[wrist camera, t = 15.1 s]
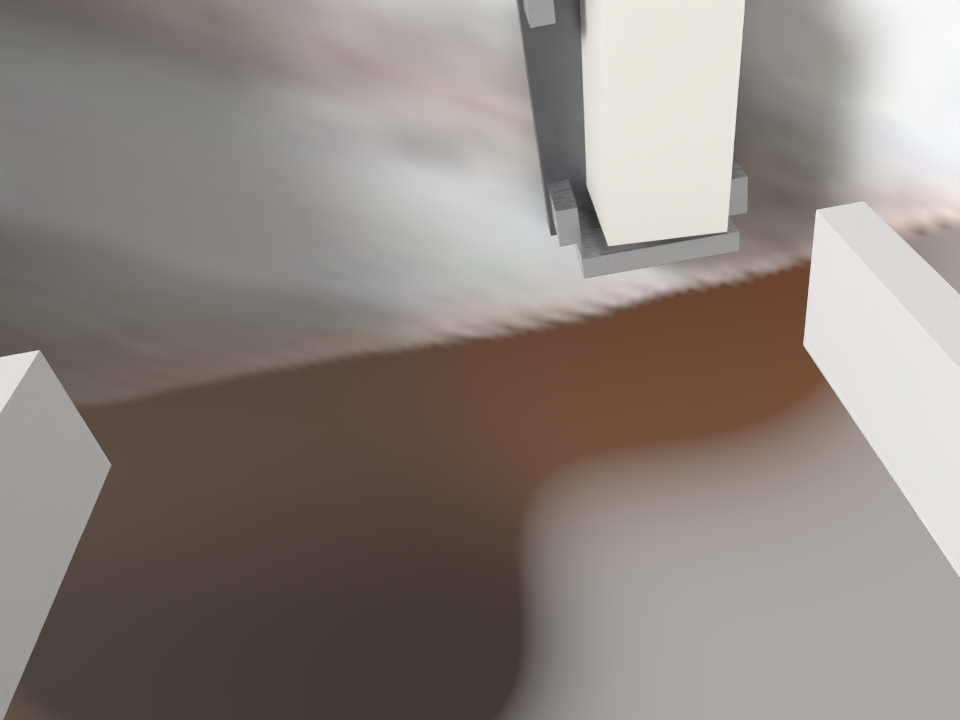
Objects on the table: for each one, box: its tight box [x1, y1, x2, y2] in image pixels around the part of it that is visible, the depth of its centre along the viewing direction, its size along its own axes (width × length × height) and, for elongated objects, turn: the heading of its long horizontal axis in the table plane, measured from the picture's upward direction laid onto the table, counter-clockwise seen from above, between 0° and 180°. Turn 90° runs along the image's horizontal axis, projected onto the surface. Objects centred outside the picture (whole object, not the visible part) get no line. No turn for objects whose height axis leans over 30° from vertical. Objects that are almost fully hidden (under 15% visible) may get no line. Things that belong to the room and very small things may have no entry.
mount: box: [517, 0, 748, 278], centre depth 34 cm, size 14×9×6 cm, turn 10°
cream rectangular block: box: [580, 0, 745, 246], centre depth 33 cm, size 10×5×6 cm, turn 7°
